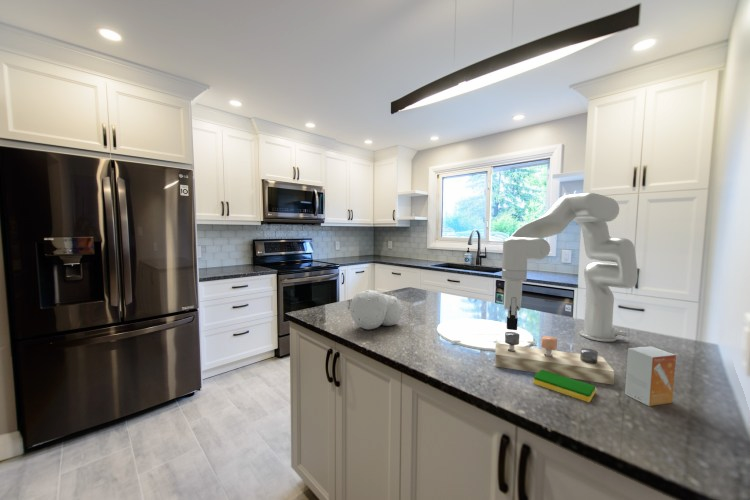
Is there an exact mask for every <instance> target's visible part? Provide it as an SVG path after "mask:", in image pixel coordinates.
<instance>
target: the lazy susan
mask: <svg viewBox="0 0 750 500" xmlns="http://www.w3.org/2000/svg"><path fill="white" fill-rule="evenodd" d="M436 332H437V334H438V335H439V336H440V337H441V338H443V339H444V340H446V341H448V342H450V343H451V344H455V345H459V346H462V347H466V348H470V349H473V350H475V349H476V350H482V351H489V352H490V351H491V352H492V351H493V352H496V343H499V344H507V343H505V332H515V333H518V334H519V344H518V345H515V346H522V347H531V346H532V345H537V341H535V340H534V339H535V338H534V336H533V335H532V334H531V333H530V332H529V331H528V330H526V329H523V328H522V327H519V326H517V330H509V329H507V322H503V321H497V320H492V319H491V320H490V319H484V318H483V319H482V318H457V319H456V318H455V319H449V320H445V321H443V322H441V323H439V324H438V325H437V327H436ZM507 345H509V344H507Z"/></svg>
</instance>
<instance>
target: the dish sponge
mask: <svg viewBox="0 0 750 500" xmlns="http://www.w3.org/2000/svg"><path fill="white" fill-rule="evenodd" d="M532 384H534V385H537V386H539V387H543V388H546V389H548V390H551V391H554V392H558V393H560V394H563V395H567V396H569V397H573V398H575V399H578V400H581V401H584V402H586V403H590V402H591V400H592V399H593V397H594V395H595V394H596V386H595V385H593V384H591V383H587V382H583V381H582V380H578V379H574V378H568V377H564V376H561V375H558V374H554V373H551V372H548V371H545V370H540V371H539V372H538V373H535V375H534V376H533V382H532Z"/></svg>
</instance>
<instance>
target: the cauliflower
mask: <svg viewBox="0 0 750 500" xmlns="http://www.w3.org/2000/svg"><path fill="white" fill-rule="evenodd" d="M349 313H350V317H351V318H352V321H353V322H354V323H355V324H356V325H357V326H358V327H360V328H362V329H364V330H374V329H377V328H379V327H380V326H381V325H382V326H386V327H388V326H393V325H396V324H397V323H399V321H401V319H402V317H403V313H404V308H403V305H402V302H401V300H400V299H399V298H398V297H396V296H395V295H389V294H386V293H382V292H379V291H377V290H373V289H367V290H362V291H360V292H358V293H356V294H355V295H354V296H353V298H352V300H351V302H350V307H349Z"/></svg>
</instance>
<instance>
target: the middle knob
mask: <svg viewBox="0 0 750 500" xmlns="http://www.w3.org/2000/svg"><path fill="white" fill-rule="evenodd" d="M540 345H541V346H540V347H541V348H542V349H546V357H551V354H552V350H553V351H557V349H558V338H556V337H554V336H552V335H542V336H541V342H540Z"/></svg>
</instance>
